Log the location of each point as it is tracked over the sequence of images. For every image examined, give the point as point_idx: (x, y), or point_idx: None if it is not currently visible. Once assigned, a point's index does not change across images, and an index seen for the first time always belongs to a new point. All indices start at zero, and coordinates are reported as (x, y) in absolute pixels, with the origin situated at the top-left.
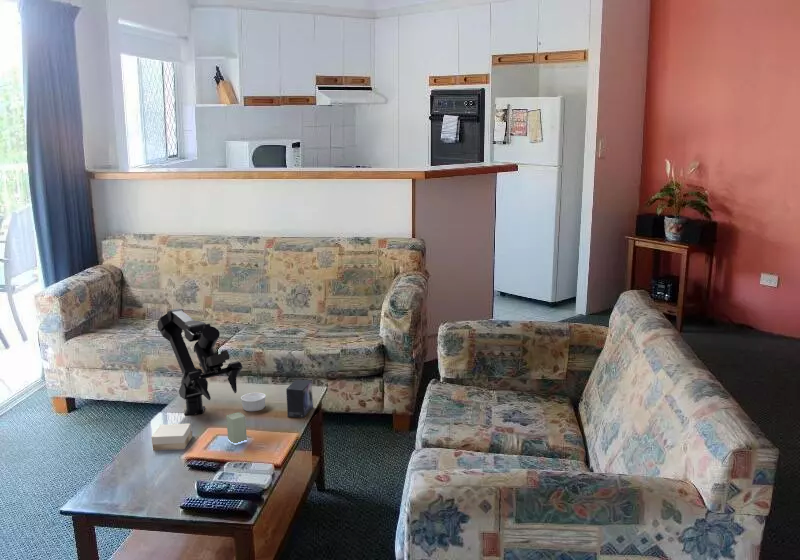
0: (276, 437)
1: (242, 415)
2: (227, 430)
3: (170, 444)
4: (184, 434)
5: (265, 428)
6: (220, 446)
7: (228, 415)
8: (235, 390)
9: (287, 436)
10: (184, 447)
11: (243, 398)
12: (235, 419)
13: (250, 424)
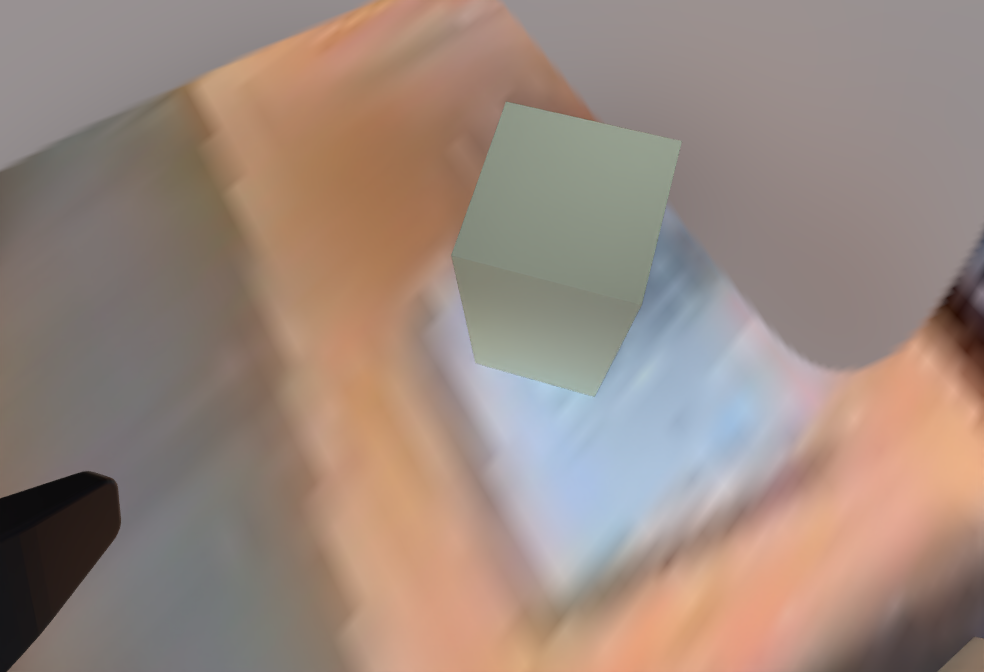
0: (329, 140)
1: (514, 135)
2: (610, 365)
3: None
4: None
5: (220, 332)
6: (703, 376)
7: (620, 280)
8: (81, 488)
9: (277, 92)
10: (975, 646)
11: None
12: (636, 137)
13: (198, 523)
